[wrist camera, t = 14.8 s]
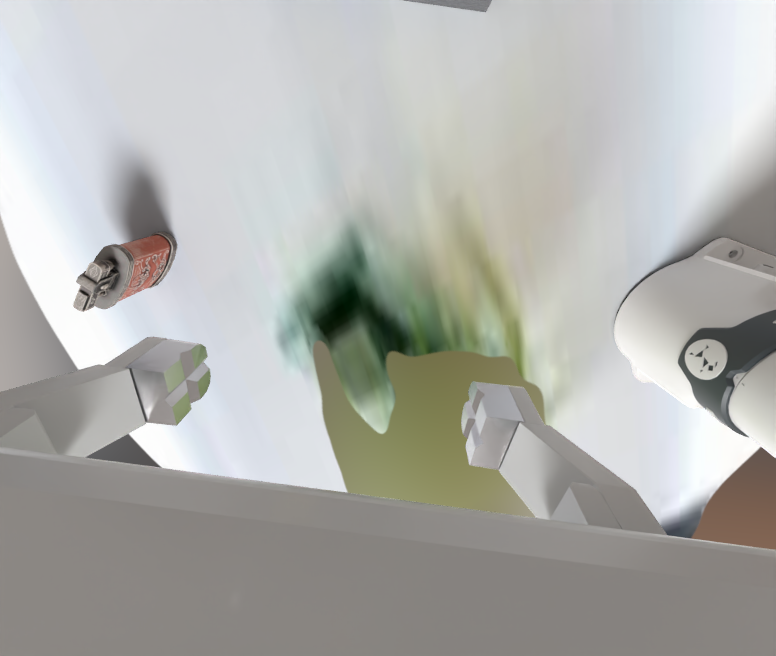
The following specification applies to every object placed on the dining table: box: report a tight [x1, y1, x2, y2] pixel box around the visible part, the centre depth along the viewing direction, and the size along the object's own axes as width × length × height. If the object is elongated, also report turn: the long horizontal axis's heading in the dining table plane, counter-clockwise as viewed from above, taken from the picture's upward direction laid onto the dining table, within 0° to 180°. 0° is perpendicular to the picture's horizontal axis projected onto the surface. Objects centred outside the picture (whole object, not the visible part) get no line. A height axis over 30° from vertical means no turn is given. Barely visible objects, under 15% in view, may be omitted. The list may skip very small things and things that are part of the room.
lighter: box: [73, 232, 177, 312], centre depth 35 cm, size 8×3×10 cm, turn 140°
